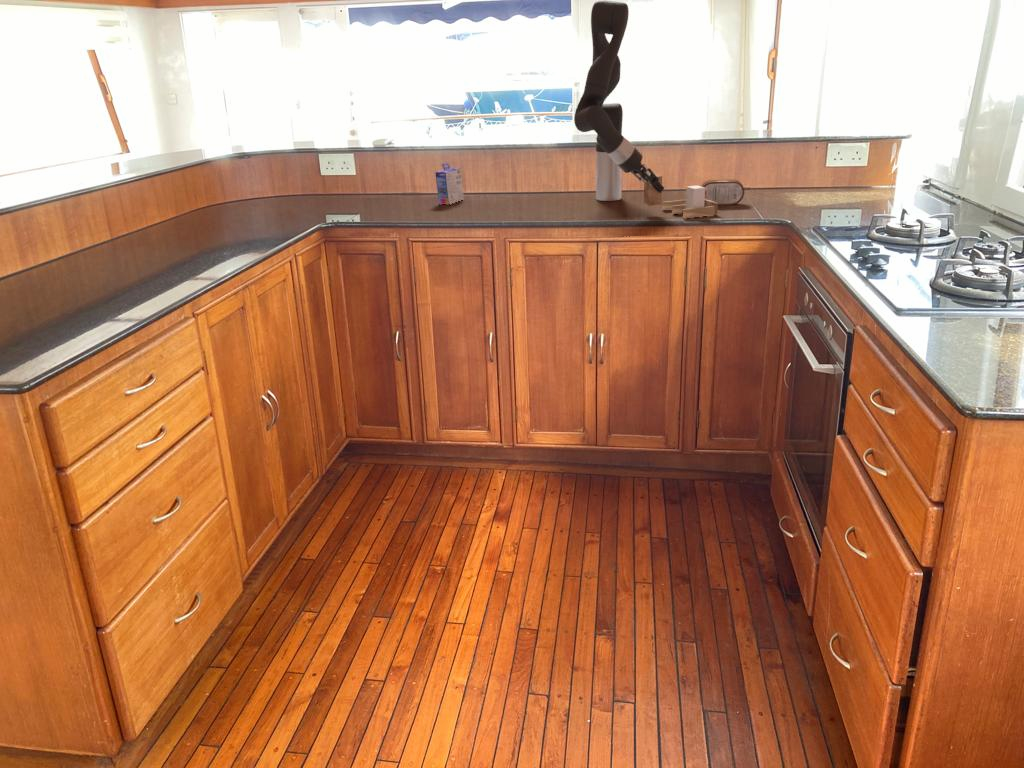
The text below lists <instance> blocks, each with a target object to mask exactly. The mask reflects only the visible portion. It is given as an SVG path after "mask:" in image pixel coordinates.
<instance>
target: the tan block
mask: <svg viewBox="0 0 1024 768" xmlns="http://www.w3.org/2000/svg"><path fill="white" fill-rule="evenodd" d="M654 174H655V175H656V177H657V178H658V179H659V180H658V182H659V183H660V184H661V185H662V186H663V175H660V174H657V173H654ZM645 179H646V177H645ZM653 180H654V179H652V181H653ZM662 193H663V191H662V192H661V193H659V192H658V191H657V190H656V189H655V188H654V187H653V186H651V184H649V183H648V182H645V181H644V183H643V204H645V205H648V206H650V207H651V206H657V205H662V202H663V201H662V199H663V198H662V196H663V195H662Z"/></svg>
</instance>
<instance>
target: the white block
mask: <svg viewBox="0 0 1024 768" xmlns="http://www.w3.org/2000/svg"><path fill="white" fill-rule="evenodd" d="M701 186H702V185H701ZM701 186H700V185H690V186H689V185H688V186H686V189H685V200H686V209H691V208H700V207H704V201H705V187H701Z"/></svg>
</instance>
